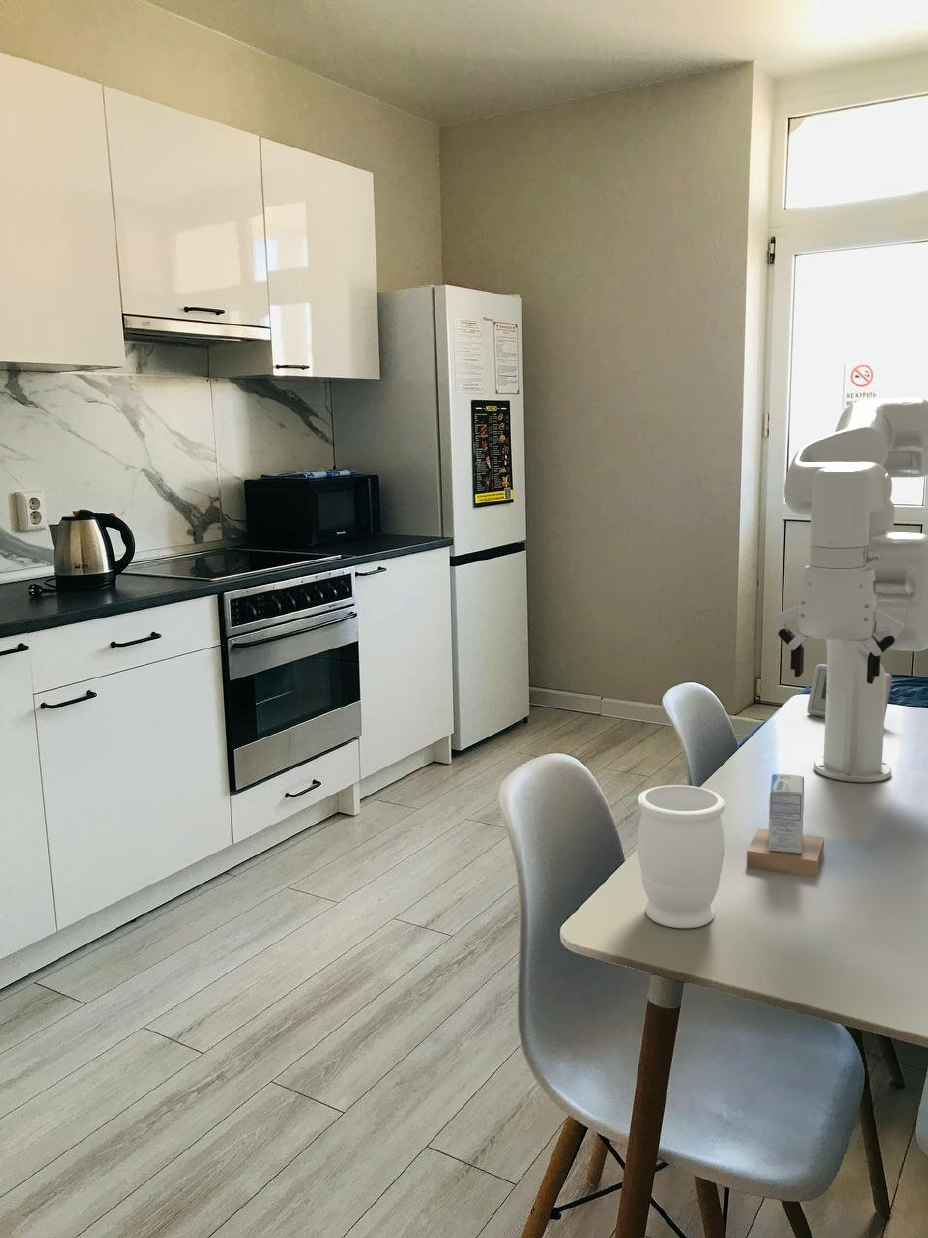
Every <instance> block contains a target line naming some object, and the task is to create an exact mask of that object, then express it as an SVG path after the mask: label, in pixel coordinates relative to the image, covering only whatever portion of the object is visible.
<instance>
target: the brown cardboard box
mask: <svg viewBox="0 0 928 1238" xmlns="http://www.w3.org/2000/svg"><path fill="white" fill-rule="evenodd" d="M746 851H747V852H746V869H753V870H759V871H764V872H765V871H766V872H771V873H772V872H773V873H779V874H784V875H785V874H786V875H791V876H797V877H804V878H810V879H817V876H818V874H819V870H820V866H821V862H822V861H821V860H823V856H824V853H825V837H824V836H817V835H810V834H804V833H803V843H802V853H801V854H794V853H783V852H775V851H769V829H765V828H757V830H756V832H755V834H754V836H753V839H752V840H751V843H750V844H749V847H748V849H747V850H746Z"/></svg>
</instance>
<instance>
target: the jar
mask: <svg viewBox="0 0 928 1238" xmlns="http://www.w3.org/2000/svg"><path fill="white" fill-rule="evenodd" d="M637 799H638V801H637V803H638V804H637V805H638V808H639V809H640V811H641V814H640V818H639V823H638V828H637V829H638V830H637V856H638V863H639V867H640V874H641V875H640V876H641V881H642V886H643V889H644V892H645V894H646V896H647V898H648V900H647V903H646V905H645V913H646V915H647V917H649V919H650V920H652V921H653V922H655V923H657V924H659V925H662V926H665V927H668V928H669V927H670V928H675V929H693V928H699V927H702V926H706V925H707V924H709V923H710V922H712V920H713V919H714V917H715V908H714V906H713V905H712V903H713V901H714V900H715V898H716V895H717V892H718V890H719V886H720V880H721V874H722V870H723V865H724V858H725V845H726V844H725V830H724V825H723V820H722V817H721V815H722V814H723V812H725V808H726V801H725V798H724V796H722V795H720V794H719V793H717V792H716V791H713V790H711V789H709V788H708V789H707V788H703V787H699V786H694V785H693V786H692V785H685V784H684V785H683V784H682V785H681V784H674V785H672V784H669V785H661V786H656V787H655V786H653V787H651V788H648V789H646V790H644V791H642V792H641V793H639V794H638V797H637Z"/></svg>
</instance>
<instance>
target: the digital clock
mask: <svg viewBox="0 0 928 1238" xmlns="http://www.w3.org/2000/svg"><path fill="white" fill-rule="evenodd" d="M885 674H886V692H885V712H884V720H885V719H886V712H887V708H888V703H889V698H890V697H889V696H890V693H891V688H892V683H893V682H892V680H893V679H892V678H893V677H892V675H891V674H889V673H888V672H887V673H886V672H885ZM812 679H813V680H812V683H811V690H810V693H809V694H810V695H809V699H808V703H807V713H808V714H809V715H812V716H816V717H820V718H822V719H825V712H826V687H827V664H825V663H824V664H823V663H818V664H817V665H816V666H815V669H814V674H813V678H812Z"/></svg>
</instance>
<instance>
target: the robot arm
mask: <svg viewBox="0 0 928 1238" xmlns="http://www.w3.org/2000/svg"><path fill="white" fill-rule="evenodd" d="M926 476H928V400H926V399H924V398H922V397H902V398H901V397H899V398H873V399H872V398H870V399H864V400H859V401H856V402H854V403H852V404H850V405H848V407H847V408H845V410H844V411H843V412H842V414H841V416H840V418H839V421H838V423H837V425H836V429H835V432H834V433H831V434H828V435H826V436H825V437H822V438H820V439H817V440H815V441H812V442H810V443H808V444H806V445H804V446H802V447H801V448H800V449H799V450H798V451H797V452H796V453H795V455H794V456H793V458H792V461H791V463H790V465H789V467H788V470H787V472H786V475H785V480H784V485H783V496H784V501H785V504H786V506H787V508H788V509H789V510H790V511H791V512H793V513H794V514H797V515H805V516H808V515H809V516H810V538H809V541H810V542H809V546H810V547H809V564H808V565H805V566H804V569H803V574H802V578H801V582H800V589H799V598H798V605H796V606H794V607H792V608H789V609H787V610H784V611H781V612H780V613H777V614H775V615H774V616H772V618H771V622H772V624H773V626H774V628H775V630H776V631H777V633H778V634H777V635H778V637H779V638H780V639H781V640H782V641H783V642H784V643H785V644H786V645H787V647H788V648H789V650H790V670H792V671H794V672H793V673H794V678H799V677H801V676H802V675H803V673H804V669H805V668H804V663H805V647H804V646H803V643H804V641H805V640H806V639H807V638H809V639H816V640H817V639H819V640H825V643H826V644H825V645H826V665H827V687H826V712H825V718H824V721H825V722H824V739H823V741H824V743H823V756H822V755H821V756H820V757H818V758H816V759H815V760H814V761H813V769H814V770H815V772H817V773H818V774H820V775H822V776H824V777H826V778H830V779H832V780H833V779H834V780H838V781H842V782H850V783H875V782H880V781H881V782H882V781H885V780H886V779H889V778H890V777H891V776H892V767H891V766H890V765H889V764H888V763H887V762H885V761H883V751H884V749H883V748H884V747H883V746H884V731H885V730H884V729H885V719H884V712H885V692H886V674H885V673H886V671H885V668H884V666H883V664H882V663H881V655H882V653H884V652H885V651H886V650H890V651H891V650H892V651H905V652H908V651H909V652H920V651H924V650H925V651H926V649H928V534H926V533H922V532H904V531H903V532H900V531H899V532H898V531H897V532H896V531H894V523H895V515H896V514H895V511H896V510H895V505H894V503H893V501H892V499H891V496H892V489H893V483H892V478H923V477H926ZM877 588H880V589H881V588H883V589H884V588H885V589H900V590H901V589H903V590H905V591H906V592H907V593H898V592H896V593H895V592H881V591H877ZM794 618H796V629H797V634H796V635H795V634H793V631H792V632H791V630H790V629H789V628H788V627H787V624H786V622H788V620H791V619H794Z"/></svg>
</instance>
